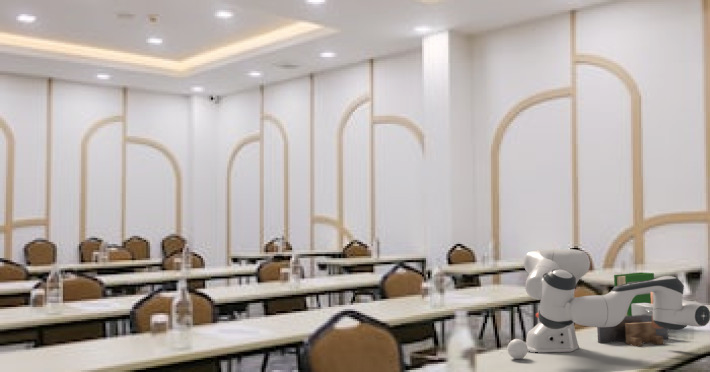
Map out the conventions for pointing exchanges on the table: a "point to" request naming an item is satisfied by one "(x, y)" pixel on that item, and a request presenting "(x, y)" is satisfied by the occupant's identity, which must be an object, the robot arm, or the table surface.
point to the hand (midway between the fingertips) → (655, 306)
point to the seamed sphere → (517, 349)
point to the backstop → (618, 331)
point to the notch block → (641, 334)
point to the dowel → (652, 316)
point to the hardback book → (632, 278)
